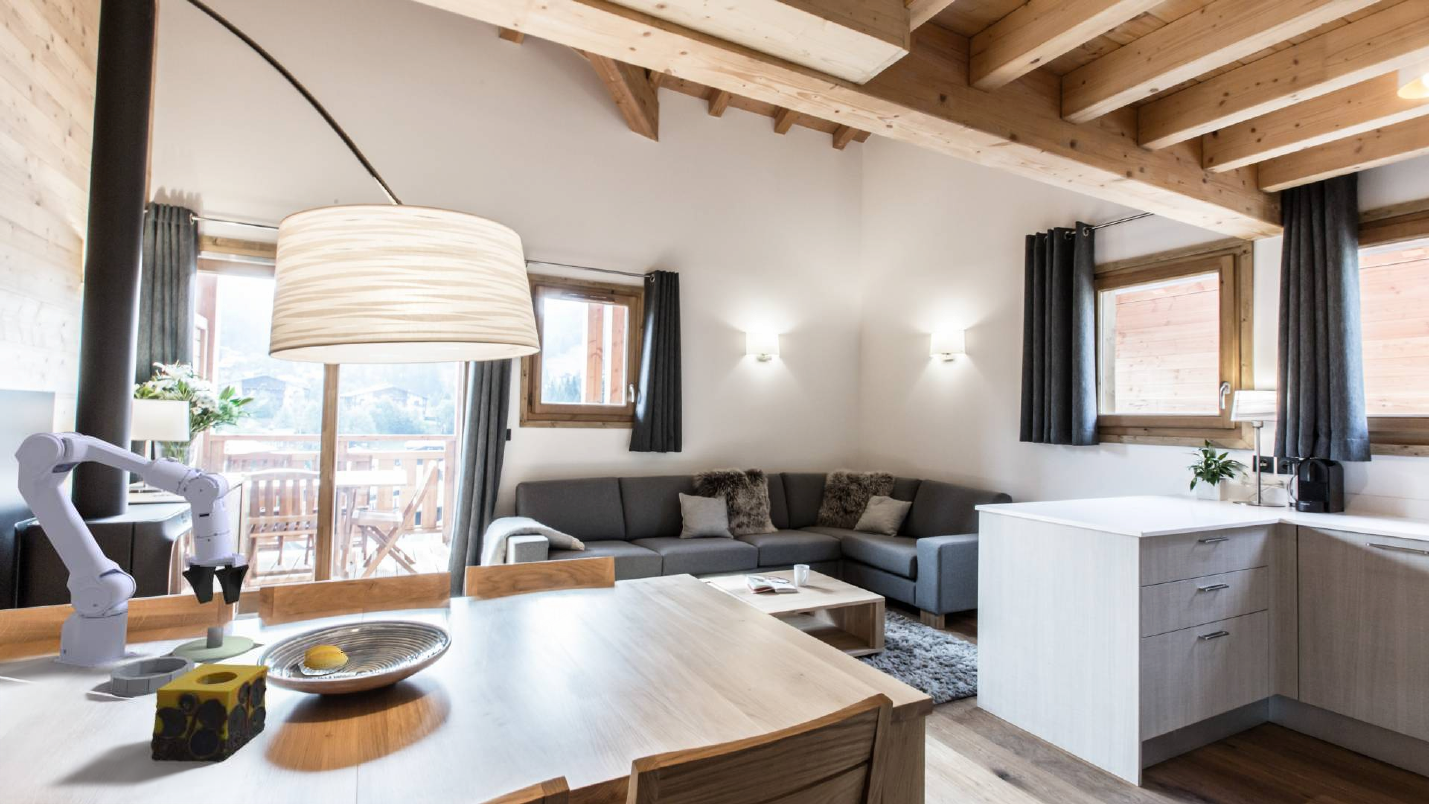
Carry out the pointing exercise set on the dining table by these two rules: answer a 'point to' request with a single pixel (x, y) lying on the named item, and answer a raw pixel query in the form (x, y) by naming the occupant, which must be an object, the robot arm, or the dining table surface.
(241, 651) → the lid
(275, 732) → the dining table surface
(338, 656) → the bread roll
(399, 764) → the dining table surface
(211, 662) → the mat
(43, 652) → the dining table surface
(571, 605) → the dining table surface
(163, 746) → the yellow patterned cube
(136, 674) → the bowl
